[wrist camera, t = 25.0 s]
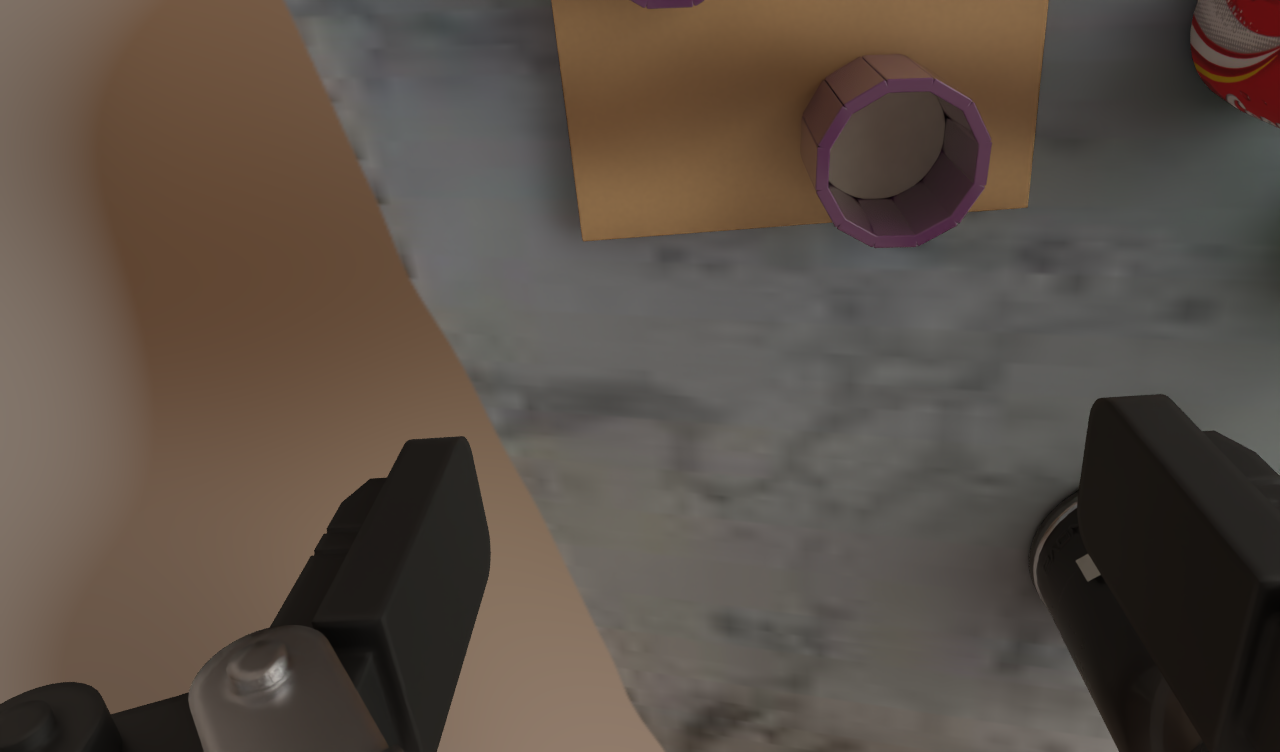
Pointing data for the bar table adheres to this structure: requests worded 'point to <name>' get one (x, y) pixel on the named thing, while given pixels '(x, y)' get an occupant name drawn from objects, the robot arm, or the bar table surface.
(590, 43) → the oak board
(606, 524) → the bar table surface
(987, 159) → the end ramekin
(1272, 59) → the soda can
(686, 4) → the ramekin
